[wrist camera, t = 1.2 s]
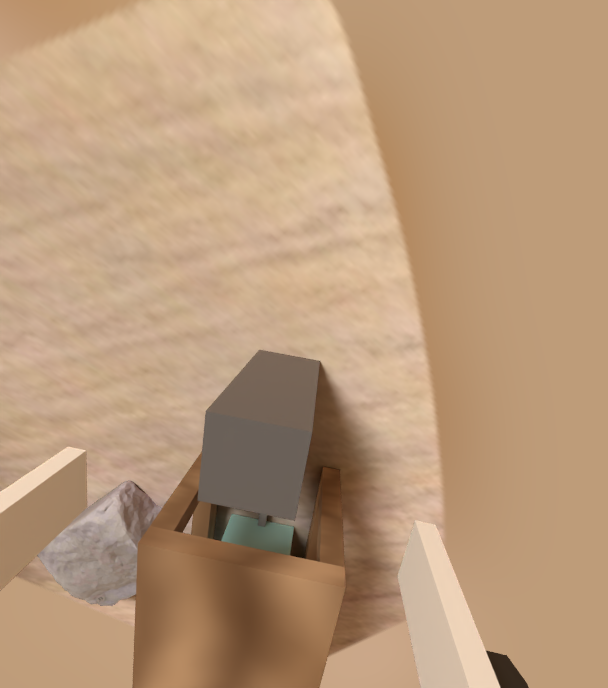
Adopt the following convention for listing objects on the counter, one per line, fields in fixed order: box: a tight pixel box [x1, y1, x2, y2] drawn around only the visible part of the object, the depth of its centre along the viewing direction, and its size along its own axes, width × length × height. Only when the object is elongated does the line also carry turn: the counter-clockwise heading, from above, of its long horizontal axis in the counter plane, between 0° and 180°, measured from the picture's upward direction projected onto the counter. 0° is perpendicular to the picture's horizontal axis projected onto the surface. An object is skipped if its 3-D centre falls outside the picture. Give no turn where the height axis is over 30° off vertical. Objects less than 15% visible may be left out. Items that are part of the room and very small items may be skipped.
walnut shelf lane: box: [133, 452, 346, 688], centre depth 24 cm, size 12×16×10 cm
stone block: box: [37, 481, 183, 606], centre depth 29 cm, size 12×5×10 cm
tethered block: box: [197, 350, 320, 556], centre depth 22 cm, size 6×22×11 cm, turn 170°
